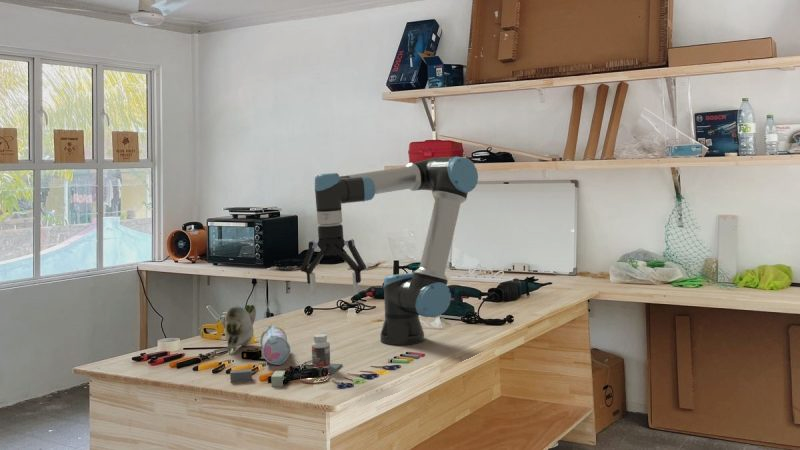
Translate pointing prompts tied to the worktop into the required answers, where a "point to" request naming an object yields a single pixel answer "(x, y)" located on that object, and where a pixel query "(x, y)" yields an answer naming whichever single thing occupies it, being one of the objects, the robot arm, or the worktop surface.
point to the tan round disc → (312, 380)
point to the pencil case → (275, 345)
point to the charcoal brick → (241, 375)
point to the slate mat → (333, 368)
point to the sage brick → (277, 378)
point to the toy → (239, 325)
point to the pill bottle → (321, 351)
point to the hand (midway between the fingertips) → (334, 293)
